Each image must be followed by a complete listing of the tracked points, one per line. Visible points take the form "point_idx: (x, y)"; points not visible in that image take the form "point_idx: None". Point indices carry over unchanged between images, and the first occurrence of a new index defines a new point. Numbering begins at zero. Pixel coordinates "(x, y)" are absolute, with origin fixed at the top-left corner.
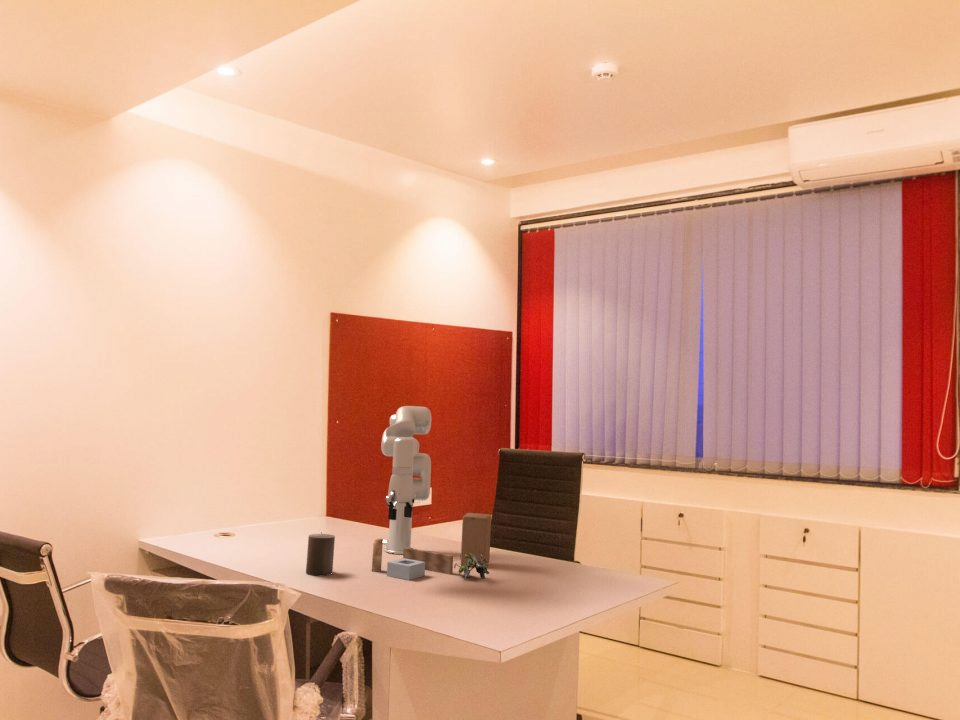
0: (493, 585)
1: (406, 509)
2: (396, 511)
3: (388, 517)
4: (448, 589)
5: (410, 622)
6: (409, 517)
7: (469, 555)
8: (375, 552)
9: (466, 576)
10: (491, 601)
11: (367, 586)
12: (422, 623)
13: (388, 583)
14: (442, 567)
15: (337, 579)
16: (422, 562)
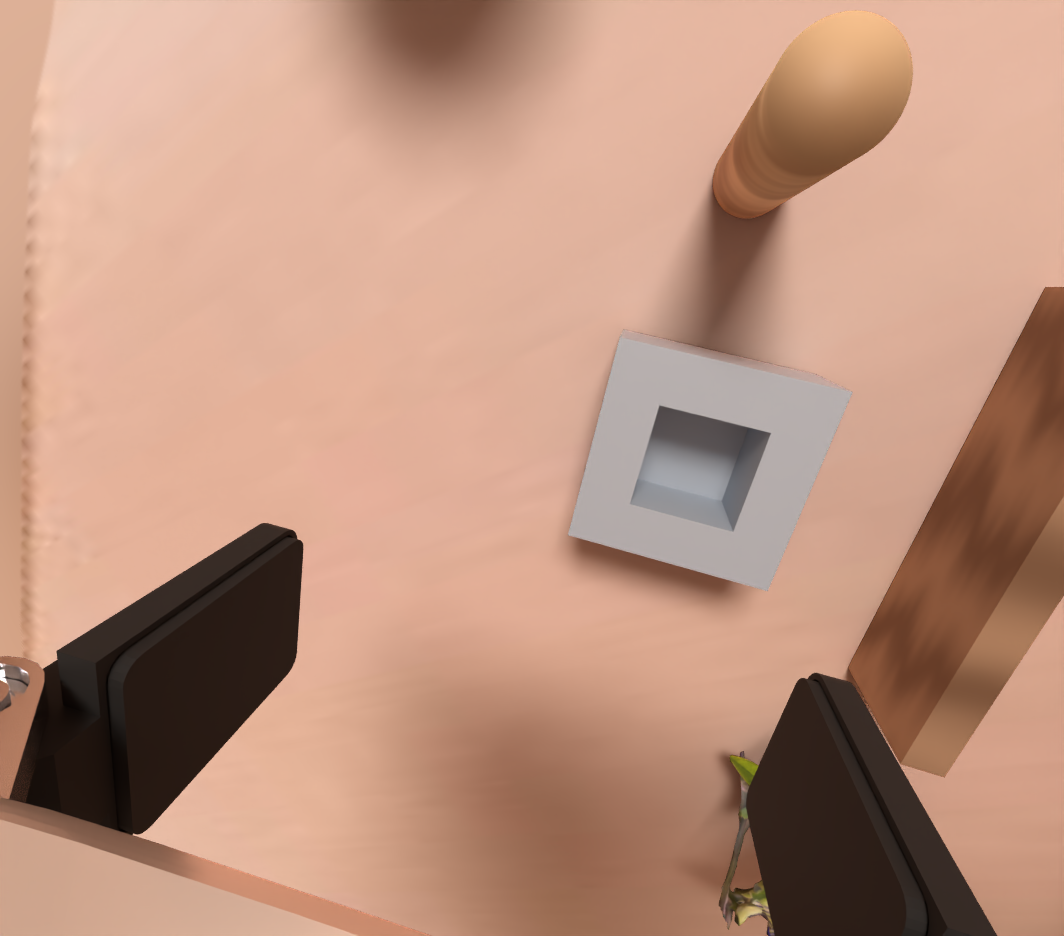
0: (690, 877)
1: (840, 882)
2: (163, 794)
3: (250, 534)
4: (508, 717)
5: None
6: (766, 777)
7: None
8: (737, 140)
9: (742, 783)
10: (419, 878)
11: (336, 334)
12: None
13: (461, 414)
14: (888, 646)
15: (375, 48)
16: (740, 578)
